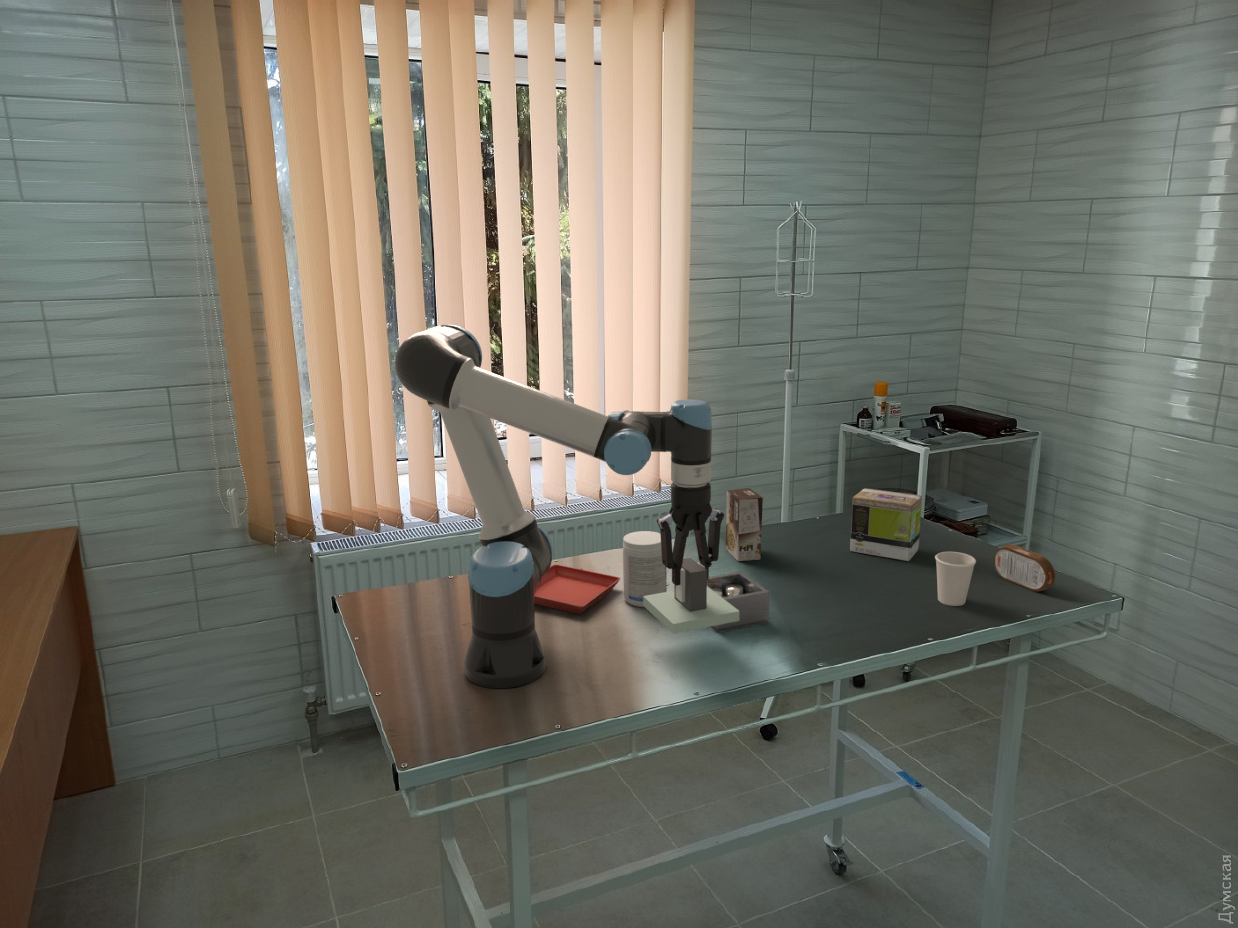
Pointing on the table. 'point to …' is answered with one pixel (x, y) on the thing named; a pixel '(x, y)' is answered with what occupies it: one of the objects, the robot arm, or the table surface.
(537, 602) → the plant saucer
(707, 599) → the lid
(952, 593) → the dixie cup
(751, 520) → the coffee box
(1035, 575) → the tin
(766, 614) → the instrument box
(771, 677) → the table surface
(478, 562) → the robot arm
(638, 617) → the table surface
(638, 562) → the supplement tub
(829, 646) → the table surface
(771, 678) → the table surface
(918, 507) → the tea box
